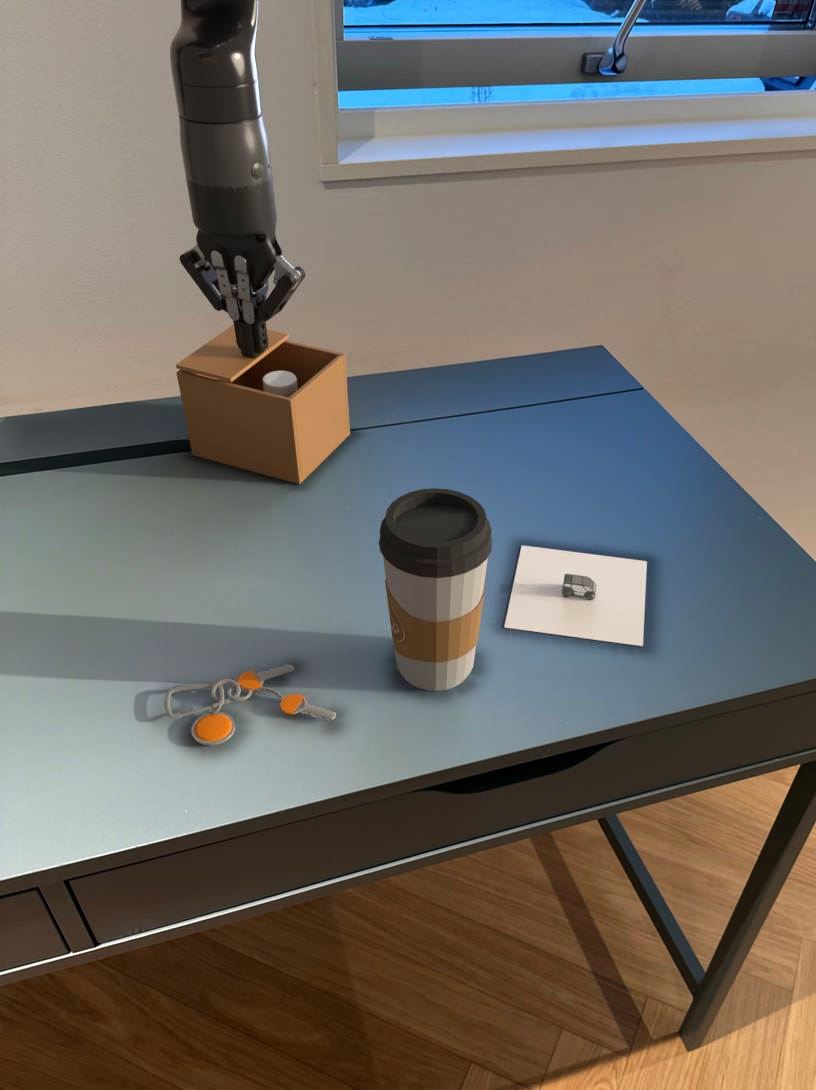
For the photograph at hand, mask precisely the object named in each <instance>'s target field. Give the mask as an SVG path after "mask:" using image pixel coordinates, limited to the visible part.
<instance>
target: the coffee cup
mask: <svg viewBox="0 0 816 1090" xmlns="http://www.w3.org/2000/svg"><path fill="white" fill-rule="evenodd" d="M378 547H379V552H380V554H381V555H382V559H383V565H384V566H383V567H384V574H385V575H384V576H385V580H384V584H385V590H386V591H385V592H386V600H387V607H388V615H389V622H390V623H389V624H390V630H391V638H392V645H393V648H394V654H395V661H396V668H397V670H398V672H399V673H400V675H401V676H402V677H403V679H404V680H405V681H406V682H407V683H409V684H410V685H411V686H413V687H415V688H417V689H421V690H423V691H427V692H428V691H429V692H441V691H447V690H450V689H454V688H455V687H457V686H458V685H461V684H462V683H463V682H464V681H465V680H466V679H467V677H468V676H470V674H471V672H472V670H473V668H474V663H475V656H476V649H477V644H478V641H479V636H480V635H479V634H480V628H481V627H480V626H481V620H482V613H483V607H484V606H483V605H484V597H485V589H486V584H487V583H486V582H487V577H486V573H487V567H488V559H489V556H490V554H491V553H492V552H493V551H492V549H493V539H492V527H491V523H490V520H489V519H488V518H487V515H486V511H485V508H484V507H483V506H482V505H481V504H480V503H479V501H478V500H476V499H475V498H473V497H472V496H470V495H468V494H465V493H463V492H461V491H457V490H453V489H449V488H437V487H434V488H433V487H432V488H421V489H417V490H412V491H409V492H407V493H405V494H402V495H400V496H399V497H397V498H396V499H394V500H393V501H392V502H391V503H390V504H389V506H388V507H387V509H386V511H385V516H384V517H383V518H382V520H381V524H380V527H379V540H378Z"/></svg>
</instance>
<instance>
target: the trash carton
mask: <svg viewBox="0 0 816 1090" xmlns="http://www.w3.org/2000/svg"><path fill="white" fill-rule="evenodd" d="M274 371H287V372H291V373H293V374H294V375H295V376H296V378H297V386H298V390H297V391H296V392H295V393H294V394H292V395H291V396H290V397H289V398H288V397H284V396H280V395H276V394H272V393H268V392H264V390H263V377H264V376H265V375H266V374H268V373H270V372H274ZM175 374H176V377H177V383H178V388H179V393H180V400H181V403H182V409H183V414H184V418H185V424H186V430H187V435H188V439H189V445H190V449H191V450H190V451H191V454H192V456H194V457H198V458H202V459H205V460H209V461H213V462H216V463H219V464H220V463H221V464H224V465H228V466H232V467H235V468H238V469H241V470H245V471H249V472H253V473H257V474H260V475H265V476H267V477H271V478H275V479H279V480H281V481H282V480H283V481H286V482H290V483H293V484H297V485H301V484H302V483H303V482H304V481H305V480H306V479H307V478H308V477H309V476H310V475H311V474H312V473H313V472H315V470H316V469H317V468H318V467H319V466H320V465H321V464H322V463H323V462H324V461H325V460H326V459H327V458H328V457H329V456H330V455H331V454H332V453H333V452H334V451H335V450H336V449H337V448H338V447H339V446H340V445H341V444H342V443H343V442H344V441H345V440H346V439H347V438H348V437H349V436H350V435H351V425H350V412H349V411H350V410H349V394H348V379H347V362H346V353H343V352H338V351H333V350H330V349H326V348H322V347H316V346H313V345H308V344H304V343H300V342H296V341H290V340H288V339H287V340H286V341H284V342H283V343H282V344H280V345H279V346H278V347H276V348H275V349H274V350H273V351H271V352H270V353H269V354H267V355H266V356H265V357H263V358H262V359H261V360H260V361H258V362H257V363H256V364H254V365H253V366H252V367H250V368H249V369H248V370H247V371H245V372H244V373H243V374H241V375H240V376H239V377H237V378H236V379H235V380H233V381H232V382H228V381H224V380H221V379H217V378H213V377H209V376H205V375H201V374H197V373H193V372H189V371H185V370H181V369H178V371H176V373H175Z"/></svg>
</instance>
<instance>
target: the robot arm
mask: <svg viewBox="0 0 816 1090" xmlns="http://www.w3.org/2000/svg"><path fill="white" fill-rule="evenodd" d="M258 21H259V0H180V25H179V27H178V30H177V32H176V33H175V35H174V37H173V39H172V40H171V43H170V46H169V60H170V62H169V63H170V71H171V78H172V84H173V90H174V96H175V103H176V108H177V113H178V122H179V143H180V151H181V157H182V163H183V168H184V175H185V181H186V186H187V193H188V199H189V204H190V209H191V210H190V211H191V217H192V222H193V224H194V226H195V228H196V229H197V232H196V236H195V242H196V245H195V246H193V247H192V248H190V249H188V250H186V251H184V253H182V254H180V255H179V262H180V264H181V265H182V266H183V268H184V269H185V271H186V272H187V274H188V275H189V276H190V278H191V279H192V281H193V282H194V283H195V284H196V286H197V287H198V288H199V290H200V291H201V292H202V294H203V295H204V296H205V298H206V300H207V301H208V302H209V303H210V305H211V306H212V308H213V309H214V310H215V311H216V312H222V311H223V312H225V313H227V314H228V316H229V318H230V319H231V320H232V323H233V325H234V329H235V336H236V343H237V345H238V347H239V349H241V353H242V355H244V356H249V357H253V358H257V357H258V356H260V355H261V354H262V353H264V351H265V349H267V347H268V335H267V329H268V328H267V322H268V321H269V320H271V319H272V318H273V317H275V316H277V314H279V313H280V312H282V311H283V309H284V308H285V306H286V305H287V304H288V302H289V301H290V299H291V298H292V296H293V295H294V294H295V292H296V291H297V289H298V287H300V285H301V284H302V282H303V280H305V278H306V272H305V270H304V268H303V267H301V266H295V267H293V266H292V265H291V264H290V263H289V262H288V261H287V260H286V259H285V258H284V257H283V249H282V248H283V247H282V245H281V244H280V241H279V240H278V237H277V233H276V232H277V231H276V230H277V223H278V222H277V220H278V215H277V205H276V197H275V196H276V195H275V188H274V187H275V186H274V178H273V170H272V160H271V150H270V142H269V137H268V132H267V128H266V124H265V119H264V113H263V104H262V95H261V85H260V77H259V71H258V70H259V69H258V64H257V58H256V41H257V33H258V24H259V23H258ZM273 272H274V275H273V280H272V283H273V285H274V288H273V289H272V290H271V292H270V293H269V295H268V292H269V288H270V283H269V279H270V277H271V276H272V274H273ZM267 295H268V296H267Z"/></svg>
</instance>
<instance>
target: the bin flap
mask: <svg viewBox="0 0 816 1090" xmlns="http://www.w3.org/2000/svg"><path fill="white" fill-rule="evenodd" d="M267 335H268V347H267V349H265V351H264V353H262V354H261V355H260V356H258V357H257V358H253V357H249V356H244V355H242V353H241V349H239V347H238V345H237V343H236V336H235V329H234V324H231V326H229V327H228V328H227V329H225V330H224V331H222V332H220V333H219V334H218V335H216V336H215V337H213V338H212V339H211V340H209V341H208V342H206V343H205V344H203V345H202V346H200V347H199V348H198V349H196V350H195V351H193V352H192V353H191V354H189V355H187V356H186V357H185V358H183V359H181V361H179V362H177V363H176V364H175V368H176V369H178V370H180V369H181V370H185V371H189V372H193V373H197V374H201V375H205V376H209V377H213V378H217V379H221V380H224V381H228V382H232V381H233V380H235V379H236V378H237V377H239V376H240V375H241V374H243V373H244V372H245V371H247V370H248V369H249V368H250V367H252V366H253V365H254V364H256V363H257V362H258V361H260V360H261V359H262V358H263V357H265V356H266V355H267V354H269V353H270V352H271V351H273V350H274V349H275V348H276V347H278V346H279V345H280V344H282V343H283V342H284V341H286V340H287V341H288V339H289V338H290V334H288V333H284V332H280V331H276V330H271V329H268V328H267Z"/></svg>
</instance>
